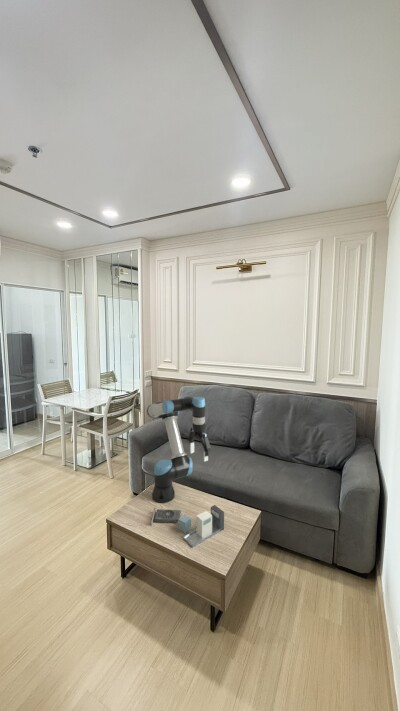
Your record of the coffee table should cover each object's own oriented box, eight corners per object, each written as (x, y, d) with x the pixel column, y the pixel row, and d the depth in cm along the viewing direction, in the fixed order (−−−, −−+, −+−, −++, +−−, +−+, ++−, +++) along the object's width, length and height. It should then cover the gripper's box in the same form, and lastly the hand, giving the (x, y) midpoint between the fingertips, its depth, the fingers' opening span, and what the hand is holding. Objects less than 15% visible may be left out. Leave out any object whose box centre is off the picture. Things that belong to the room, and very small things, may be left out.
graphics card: (149, 520, 164) (153, 507, 176) (149, 526, 165) (154, 512, 177) (178, 522, 163) (181, 508, 175) (178, 528, 164) (181, 513, 176)
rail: (183, 538, 155) (183, 520, 153) (214, 521, 168) (214, 504, 167) (192, 547, 148) (192, 528, 147) (223, 529, 162) (224, 512, 161)
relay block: (178, 529, 162) (178, 519, 161) (184, 524, 166) (184, 514, 165) (185, 533, 159) (185, 522, 158) (191, 527, 163) (191, 518, 162)
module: (196, 532, 158) (196, 515, 157) (206, 527, 162) (206, 510, 161) (202, 538, 154) (202, 520, 153) (212, 532, 158) (212, 515, 157)
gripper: (181, 418, 180) (182, 451, 182) (207, 430, 160) (206, 466, 163) (191, 416, 185) (191, 448, 187) (217, 427, 165) (216, 462, 167)
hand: (198, 456), depth 175 cm, fingers open, 13 cm apart
